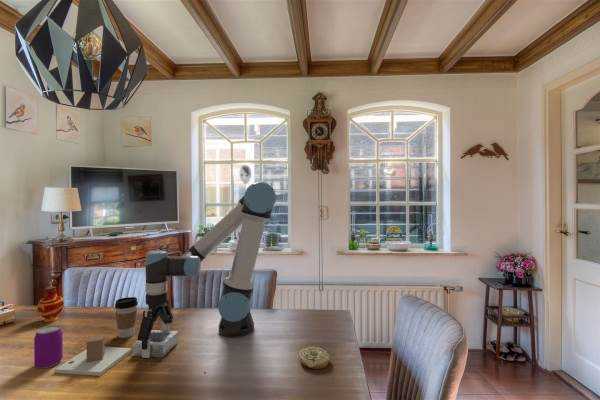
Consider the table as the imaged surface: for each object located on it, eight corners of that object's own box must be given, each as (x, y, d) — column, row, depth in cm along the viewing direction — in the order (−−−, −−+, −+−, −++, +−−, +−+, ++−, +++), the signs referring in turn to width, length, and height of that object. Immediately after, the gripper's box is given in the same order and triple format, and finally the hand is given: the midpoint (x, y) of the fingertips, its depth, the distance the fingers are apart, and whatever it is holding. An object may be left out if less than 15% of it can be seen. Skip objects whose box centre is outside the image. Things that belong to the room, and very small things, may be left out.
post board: (131, 351, 117) (131, 329, 117) (100, 375, 101) (100, 350, 101) (91, 349, 119) (91, 327, 119) (54, 372, 103) (54, 347, 103)
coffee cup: (127, 340, 126) (127, 303, 126) (109, 338, 128) (109, 301, 128) (142, 331, 135) (142, 296, 134) (125, 329, 136) (125, 295, 136)
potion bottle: (68, 318, 148) (68, 286, 148) (41, 326, 140) (41, 292, 139) (59, 313, 154) (59, 283, 154) (32, 320, 145) (32, 288, 145)
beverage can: (31, 364, 108) (31, 329, 108) (59, 355, 114) (59, 322, 114) (37, 372, 103) (36, 336, 103) (65, 362, 109) (65, 328, 109)
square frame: (178, 342, 125) (178, 331, 125) (162, 357, 113) (162, 344, 113) (150, 341, 126) (150, 329, 126) (132, 355, 114) (132, 343, 114)
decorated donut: (311, 374, 103) (311, 363, 103) (293, 360, 112) (293, 349, 112) (335, 365, 109) (335, 354, 109) (316, 352, 118) (316, 342, 118)
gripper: (164, 283, 132) (164, 333, 132) (125, 303, 107) (125, 364, 108) (181, 283, 131) (181, 334, 132) (146, 303, 107) (146, 366, 107)
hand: (156, 348), depth 120 cm, fingers open, 13 cm apart
